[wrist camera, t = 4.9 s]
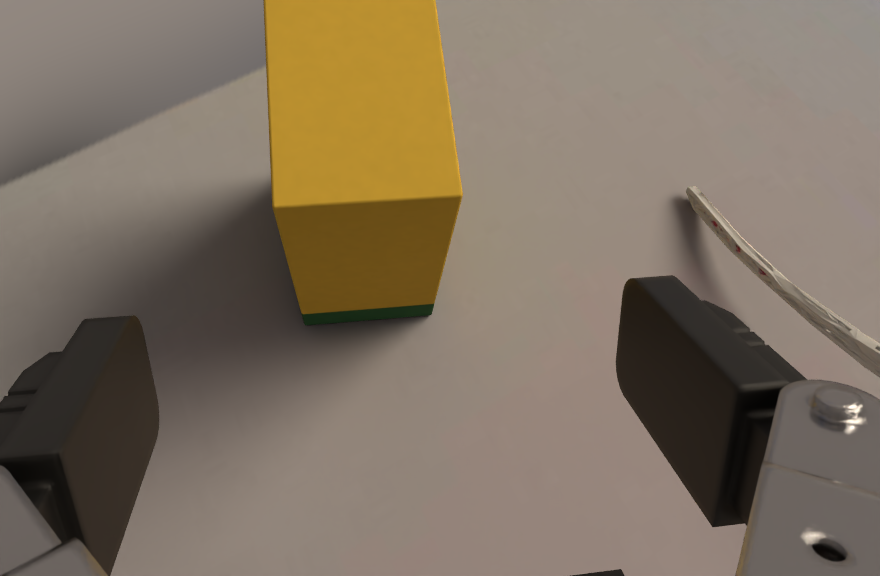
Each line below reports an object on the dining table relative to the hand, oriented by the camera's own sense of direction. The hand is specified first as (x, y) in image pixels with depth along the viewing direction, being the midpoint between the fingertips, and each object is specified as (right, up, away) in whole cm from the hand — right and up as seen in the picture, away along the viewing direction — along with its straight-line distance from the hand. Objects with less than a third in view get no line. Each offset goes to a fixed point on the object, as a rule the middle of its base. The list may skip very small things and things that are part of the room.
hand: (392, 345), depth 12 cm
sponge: (-2, +3, +14) cm, 14 cm away
